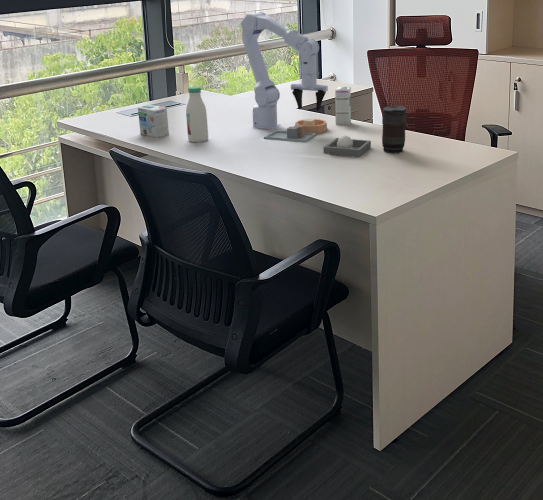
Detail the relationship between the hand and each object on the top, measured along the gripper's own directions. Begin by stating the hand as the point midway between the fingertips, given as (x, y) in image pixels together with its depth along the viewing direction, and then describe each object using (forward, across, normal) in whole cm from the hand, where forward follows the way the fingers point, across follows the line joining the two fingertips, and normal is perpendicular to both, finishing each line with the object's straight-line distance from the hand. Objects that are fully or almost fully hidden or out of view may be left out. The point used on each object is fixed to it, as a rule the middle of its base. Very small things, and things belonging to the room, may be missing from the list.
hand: (309, 109), depth 261 cm
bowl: (+9, 0, +2) cm, 9 cm away
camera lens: (+9, +38, -16) cm, 42 cm away
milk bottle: (+9, -36, -24) cm, 44 cm away
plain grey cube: (+8, -2, -13) cm, 15 cm away
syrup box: (+9, +8, +16) cm, 21 cm away
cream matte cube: (+8, 0, 0) cm, 8 cm away
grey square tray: (+9, +23, -22) cm, 33 cm away
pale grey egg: (+9, +23, -22) cm, 33 cm away
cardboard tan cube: (+8, 0, -9) cm, 12 cm away
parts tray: (+9, -3, -11) cm, 15 cm away
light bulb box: (+9, -58, -22) cm, 62 cm away
